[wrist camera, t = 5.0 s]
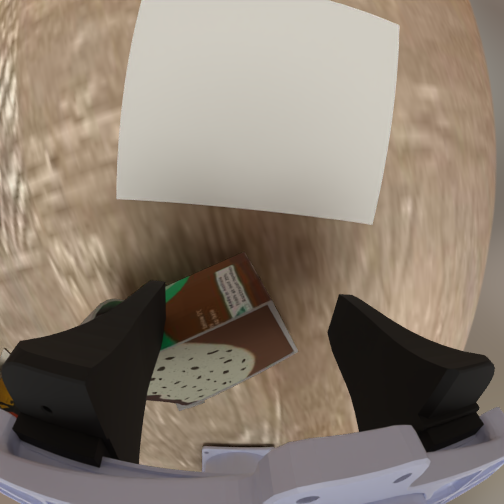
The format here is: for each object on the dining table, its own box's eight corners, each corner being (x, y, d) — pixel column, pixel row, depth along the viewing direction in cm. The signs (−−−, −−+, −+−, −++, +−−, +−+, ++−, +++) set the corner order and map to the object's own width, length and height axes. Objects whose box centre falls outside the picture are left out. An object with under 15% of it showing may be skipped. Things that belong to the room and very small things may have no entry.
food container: (207, 181, 14) (51, 278, 13) (263, 283, 10) (59, 385, 10) (264, 290, 24) (159, 344, 24) (300, 356, 20) (182, 411, 20)
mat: (370, 223, 18) (372, 224, 18) (118, 197, 17) (116, 198, 16) (397, 26, 13) (399, 25, 13) (147, -15, 11) (146, -17, 11)
